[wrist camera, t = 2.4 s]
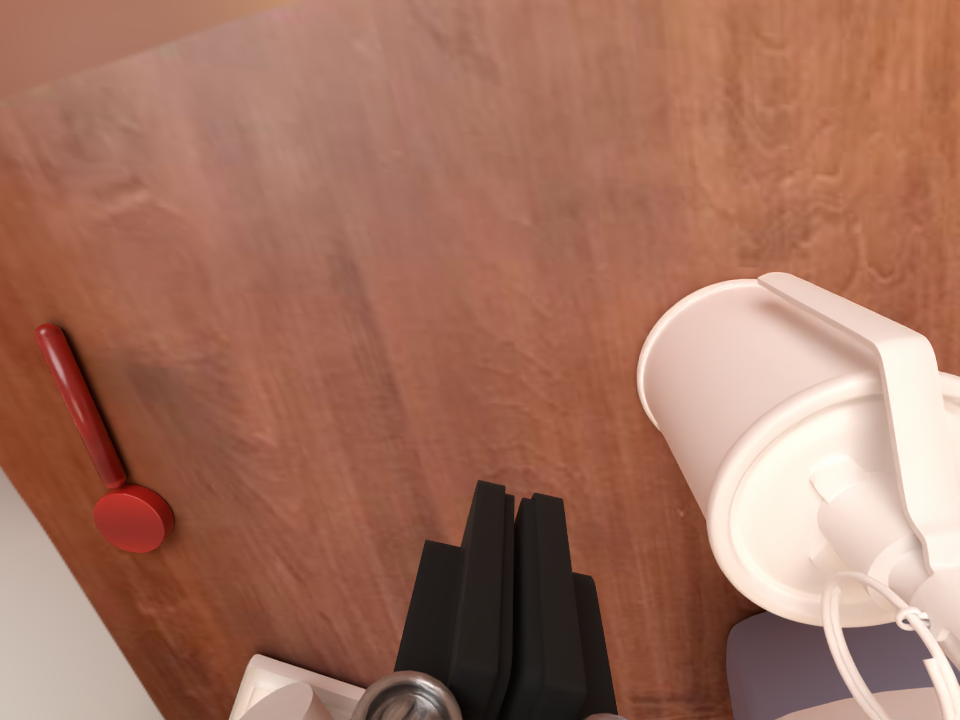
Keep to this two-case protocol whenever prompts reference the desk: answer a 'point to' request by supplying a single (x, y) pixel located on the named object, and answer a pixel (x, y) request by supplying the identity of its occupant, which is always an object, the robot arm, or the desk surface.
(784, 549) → the smoke grenade
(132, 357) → the desk surface
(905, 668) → the bowl
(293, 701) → the dixie cup
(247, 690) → the white rectangular tray
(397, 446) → the desk surface
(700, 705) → the desk surface
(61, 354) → the red spoon
